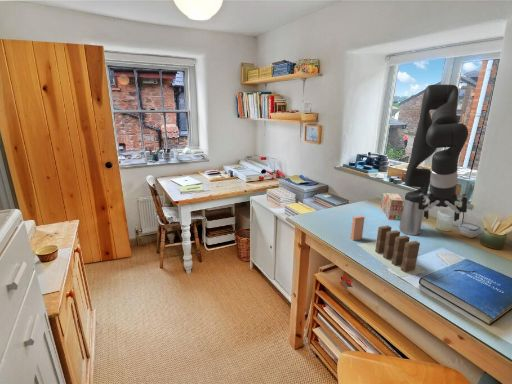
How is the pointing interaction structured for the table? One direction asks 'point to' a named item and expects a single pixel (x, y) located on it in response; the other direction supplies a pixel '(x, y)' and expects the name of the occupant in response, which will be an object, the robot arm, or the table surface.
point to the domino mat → (388, 260)
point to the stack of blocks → (392, 205)
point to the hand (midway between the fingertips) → (440, 218)
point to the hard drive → (449, 258)
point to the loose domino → (357, 227)
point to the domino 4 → (410, 256)
